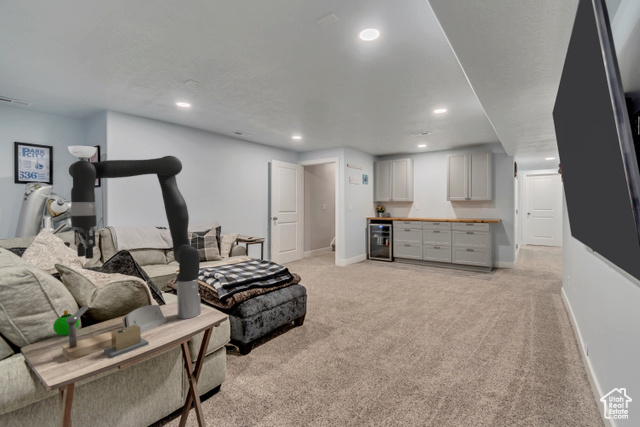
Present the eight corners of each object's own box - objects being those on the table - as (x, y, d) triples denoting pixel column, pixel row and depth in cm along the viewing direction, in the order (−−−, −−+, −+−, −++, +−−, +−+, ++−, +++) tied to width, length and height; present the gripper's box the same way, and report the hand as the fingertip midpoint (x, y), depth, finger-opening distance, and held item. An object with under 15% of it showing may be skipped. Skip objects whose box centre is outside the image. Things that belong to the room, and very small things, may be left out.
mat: (140, 339, 116) (140, 337, 116) (148, 344, 112) (148, 341, 112) (103, 352, 106) (103, 349, 106) (111, 357, 102) (111, 355, 102)
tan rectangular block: (136, 340, 113) (135, 324, 113) (140, 342, 111) (140, 326, 111) (111, 348, 107) (111, 331, 106) (116, 351, 104) (115, 334, 104)
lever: (75, 322, 103) (75, 318, 103) (65, 324, 102) (64, 319, 102) (90, 308, 117) (90, 304, 117) (81, 309, 116) (80, 305, 116)
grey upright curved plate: (132, 336, 118) (125, 312, 119) (125, 339, 120) (118, 315, 121) (167, 321, 134) (161, 299, 135) (160, 323, 136) (154, 302, 137)
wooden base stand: (123, 335, 120) (122, 306, 120) (131, 340, 116) (130, 310, 115) (62, 354, 105) (61, 322, 104) (69, 361, 100) (68, 327, 100)
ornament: (82, 333, 122) (81, 309, 122) (57, 340, 116) (56, 315, 115) (75, 329, 127) (74, 305, 127) (50, 336, 120) (49, 311, 120)
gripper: (102, 214, 110) (104, 257, 110) (89, 214, 118) (90, 254, 119) (77, 214, 104) (79, 260, 104) (65, 214, 112) (66, 257, 113)
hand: (85, 257), depth 111 cm, fingers open, 8 cm apart
